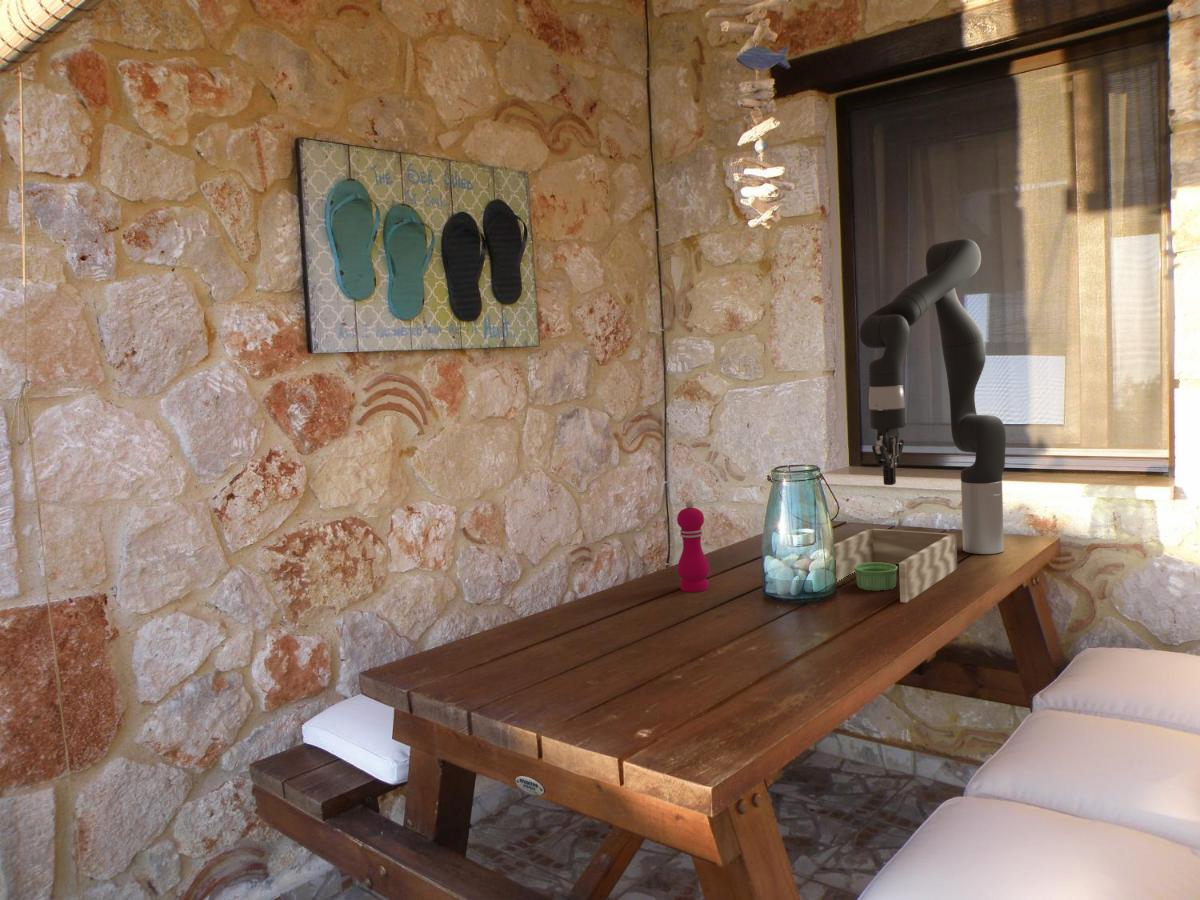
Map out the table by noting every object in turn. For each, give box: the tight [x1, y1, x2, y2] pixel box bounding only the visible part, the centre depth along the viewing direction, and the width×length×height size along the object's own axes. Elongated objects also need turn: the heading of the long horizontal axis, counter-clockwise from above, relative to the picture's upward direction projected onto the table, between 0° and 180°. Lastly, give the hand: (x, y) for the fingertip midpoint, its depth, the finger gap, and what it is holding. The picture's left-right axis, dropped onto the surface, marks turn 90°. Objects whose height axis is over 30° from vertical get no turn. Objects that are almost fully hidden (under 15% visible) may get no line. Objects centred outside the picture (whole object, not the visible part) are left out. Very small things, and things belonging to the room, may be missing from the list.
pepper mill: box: [676, 500, 711, 593], centre depth 204 cm, size 7×7×20 cm
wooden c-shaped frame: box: [833, 528, 958, 604], centre depth 201 cm, size 32×20×8 cm, turn 141°
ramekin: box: [854, 562, 899, 592], centre depth 196 cm, size 9×9×4 cm
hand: (889, 484), depth 202 cm, fingers closed
